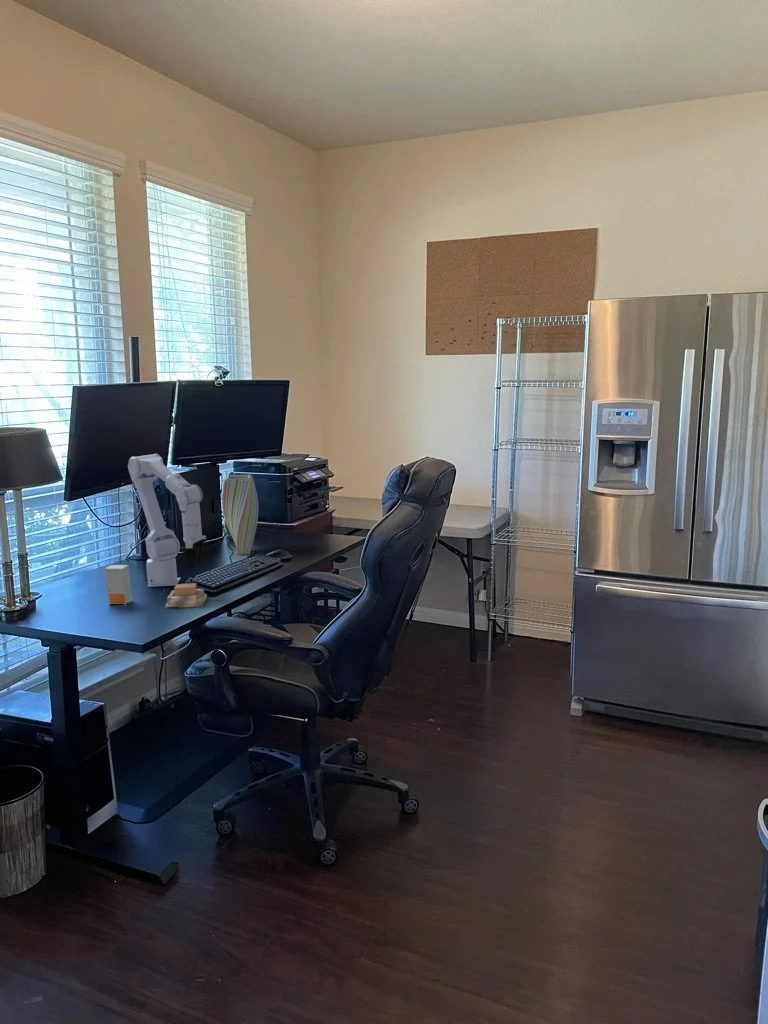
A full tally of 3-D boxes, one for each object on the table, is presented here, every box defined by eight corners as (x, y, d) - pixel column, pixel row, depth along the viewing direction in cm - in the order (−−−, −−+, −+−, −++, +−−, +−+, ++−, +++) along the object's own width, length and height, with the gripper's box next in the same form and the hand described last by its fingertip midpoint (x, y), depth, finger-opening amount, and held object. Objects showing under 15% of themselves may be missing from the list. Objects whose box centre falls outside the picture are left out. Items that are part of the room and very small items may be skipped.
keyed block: (195, 600, 231) (194, 586, 230) (175, 602, 230) (174, 588, 229) (197, 596, 235) (196, 583, 234) (178, 598, 234) (176, 584, 233)
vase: (225, 558, 285) (218, 480, 279) (227, 549, 298) (221, 475, 292) (260, 555, 286) (255, 478, 280) (262, 547, 299) (256, 473, 293)
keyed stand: (165, 608, 228) (164, 598, 227) (171, 599, 237) (170, 589, 236) (202, 606, 228) (201, 596, 228) (206, 597, 237) (206, 588, 237)
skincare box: (108, 605, 233) (104, 568, 230) (114, 601, 237) (110, 564, 234) (126, 605, 232) (122, 568, 229) (133, 601, 236) (129, 564, 233)
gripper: (200, 528, 231) (203, 570, 234) (208, 518, 246) (211, 558, 248) (177, 529, 231) (181, 571, 234) (186, 519, 245) (190, 559, 248)
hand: (195, 564), depth 241 cm, fingers open, 7 cm apart
